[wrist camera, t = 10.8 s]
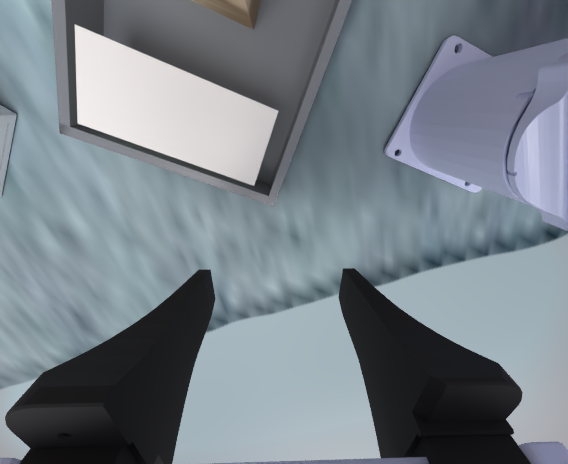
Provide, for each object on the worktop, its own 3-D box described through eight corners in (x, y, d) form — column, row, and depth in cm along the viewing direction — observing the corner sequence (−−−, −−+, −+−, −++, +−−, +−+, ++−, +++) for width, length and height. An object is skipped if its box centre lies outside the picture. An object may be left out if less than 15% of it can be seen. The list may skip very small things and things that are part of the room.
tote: (388, -117, 12) (426, -194, 9) (274, 191, 20) (273, 206, 17) (102, -312, 10) (19, -516, 6) (98, 129, 17) (59, 133, 14)
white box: (278, 111, 16) (278, 110, 13) (258, 171, 18) (254, 185, 15) (124, 45, 15) (74, 24, 11) (120, 120, 16) (77, 123, 13)
